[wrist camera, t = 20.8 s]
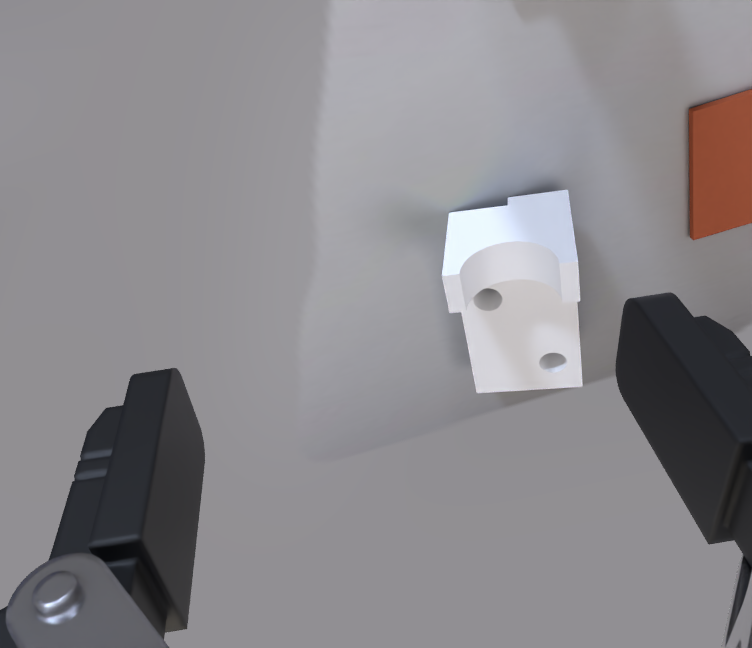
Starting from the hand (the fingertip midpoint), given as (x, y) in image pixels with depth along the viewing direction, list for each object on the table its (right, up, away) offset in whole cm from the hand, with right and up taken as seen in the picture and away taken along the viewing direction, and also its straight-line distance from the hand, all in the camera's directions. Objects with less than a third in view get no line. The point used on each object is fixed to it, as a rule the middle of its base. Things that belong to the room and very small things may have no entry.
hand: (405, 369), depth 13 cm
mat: (+23, +11, +30) cm, 40 cm away
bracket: (+8, +3, +34) cm, 35 cm away
